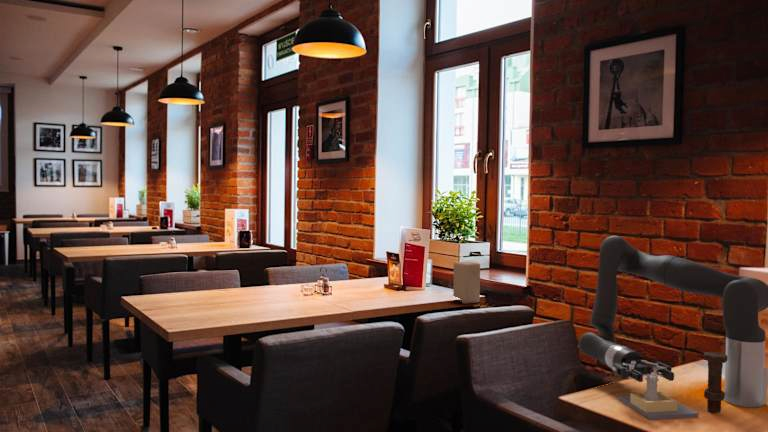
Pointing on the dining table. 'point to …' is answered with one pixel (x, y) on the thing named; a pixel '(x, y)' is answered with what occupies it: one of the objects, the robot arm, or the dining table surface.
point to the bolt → (714, 380)
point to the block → (467, 281)
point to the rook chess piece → (651, 388)
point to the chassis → (658, 407)
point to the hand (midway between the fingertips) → (657, 377)
